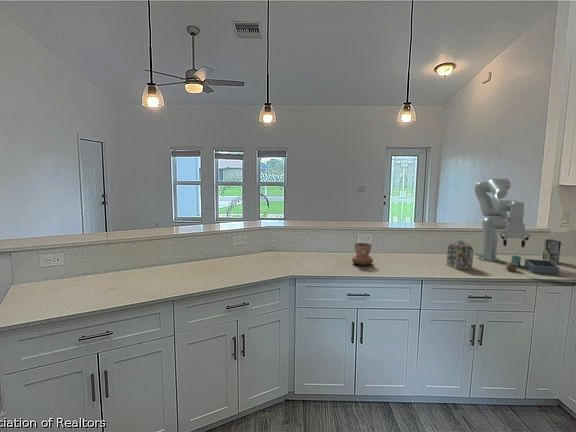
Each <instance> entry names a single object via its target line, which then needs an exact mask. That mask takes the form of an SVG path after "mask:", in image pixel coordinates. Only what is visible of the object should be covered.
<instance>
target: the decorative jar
mask: <svg viewBox="0 0 576 432" xmlns="http://www.w3.org/2000/svg"><path fill="white" fill-rule="evenodd" d="M473 262H474V249H473V247H472V245H471V244H468V243H466V242H465V241H464V240H457V241H456V242H452V243H450V244H449V245H448V246H447V256H446V265H447V266H449V267H451V268H453V269H455V270H472V269H473Z"/></svg>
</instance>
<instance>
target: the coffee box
mask: <svg viewBox="0 0 576 432" xmlns="http://www.w3.org/2000/svg"><path fill="white" fill-rule="evenodd" d="M561 244H562V241H560V240H556V239H550V238H549V239H547V238H545V239H544V240H543V248H542V249H543V253H542V260H545V261H551V262H552V263H553V264H555V265H559V263H560V254H561Z"/></svg>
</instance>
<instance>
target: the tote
mask: <svg viewBox="0 0 576 432" xmlns="http://www.w3.org/2000/svg"><path fill="white" fill-rule="evenodd" d="M524 267H525V268H526V269H527V270H528V271H529V272H530V273H532V274H537V273H538V274H540V275H548V276H549V275H550V276H559V274H560V267H559V266H558V265H557V264H553V263H552V262H551V261H545V260H543V259H542V260H541V259H533V258H532V259H531V258H524ZM538 274H537V275H538Z"/></svg>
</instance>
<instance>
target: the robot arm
mask: <svg viewBox="0 0 576 432" xmlns="http://www.w3.org/2000/svg"><path fill="white" fill-rule="evenodd" d="M511 185H512V183H511V180H510V179H508V178H491V179H489V180H488V181H485V180H484V181H479V182H477V183H476V184H475V186H474V194H475V196H476V198H477V200H478V202H479V206H480V211H481V214H482V216H483V217H485V218H483V220H482V223H481V224H482V225H481V226H482V243H481V252H473V256H477V257H478V259H480V260H483V261H486V262H487V261H488V262H497V261H498V262H499V258H498V257H497V251H498V240H499V237H500V238H501V239H502V240H503V243H502V244H503V246H504V247H507V244H508V243H507V242H508V241H507V240H508V239H519V240H522V241H521V244H520V245H521V246H520V247H522V249H523V248H525V246H526V242H527V241H528V240H529V239H530V238H531V237H532V236H531V234H530V233H528V232H526V225H525V222H524V216H525V215H524V213H525V203H524V202H523V201H518V200H509V199H508V200H507V199H506V200H505V199H504V198H505V197H506V196H508V194H509V193H508V190H509V189H510V188H511V187H512V186H511ZM489 193H491V194H492V197H491V196H490V195H489ZM502 199H503V200H502ZM508 213H509V214H508ZM497 231H501V232H499V233H497ZM498 234H499V237H498ZM504 235H505V236H504Z"/></svg>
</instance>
